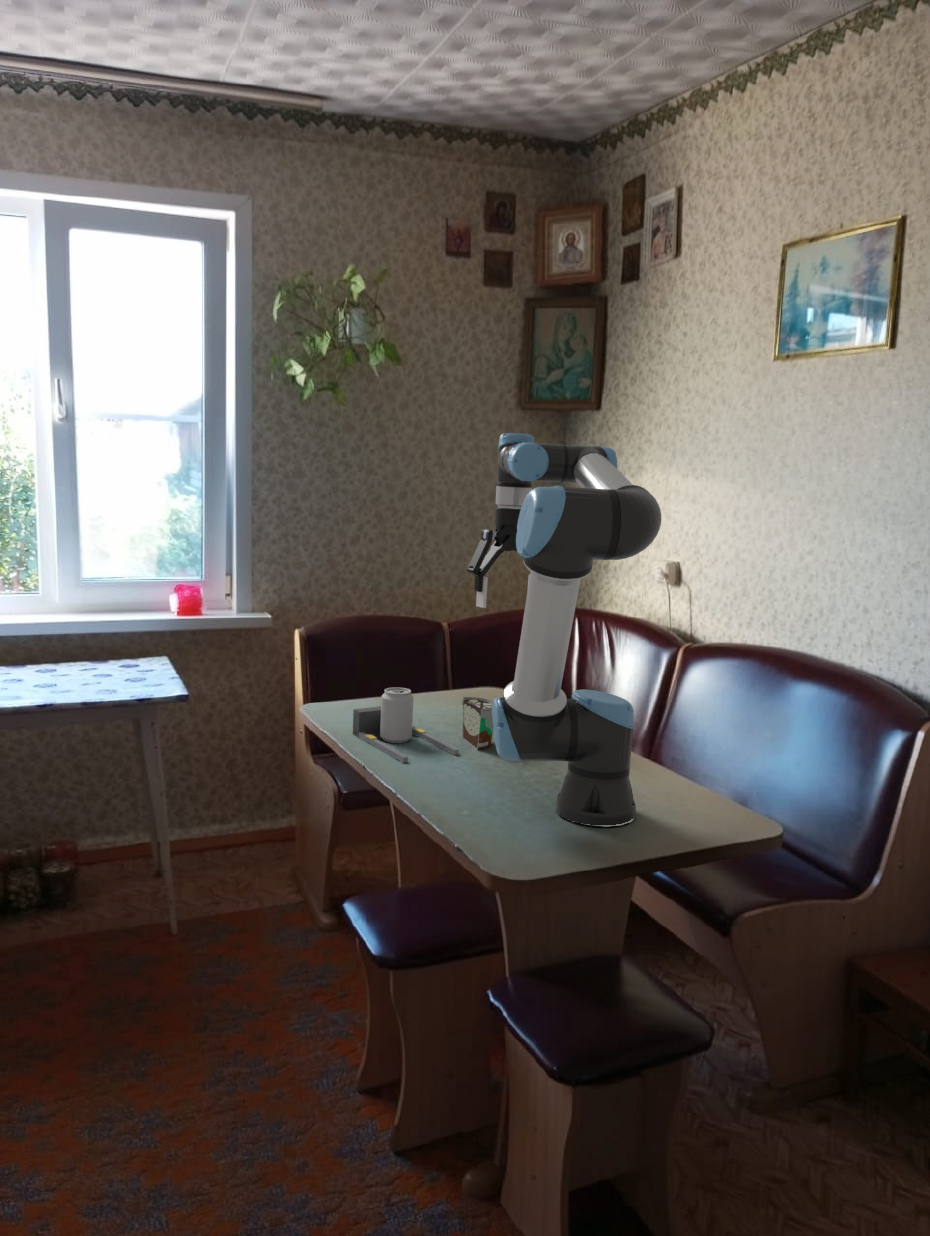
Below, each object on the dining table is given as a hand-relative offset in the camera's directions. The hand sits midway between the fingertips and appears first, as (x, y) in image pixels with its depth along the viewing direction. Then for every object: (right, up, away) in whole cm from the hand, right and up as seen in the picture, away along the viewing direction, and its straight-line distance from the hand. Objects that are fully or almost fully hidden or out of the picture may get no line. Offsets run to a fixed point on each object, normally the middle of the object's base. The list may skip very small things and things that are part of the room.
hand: (506, 605), depth 207 cm
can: (-25, -31, +17) cm, 44 cm away
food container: (-5, -32, +18) cm, 37 cm away
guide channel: (-23, -32, +14) cm, 42 cm away
